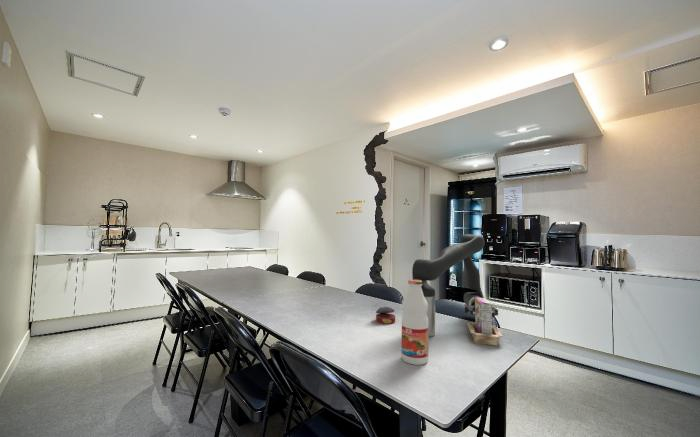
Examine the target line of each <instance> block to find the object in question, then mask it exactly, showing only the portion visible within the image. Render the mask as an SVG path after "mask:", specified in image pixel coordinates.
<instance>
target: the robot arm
mask: <svg viewBox="0 0 700 437" xmlns="http://www.w3.org/2000/svg"><path fill="white" fill-rule="evenodd" d="M485 244H486V242H485V238H484V237H483V236H482V235H480V234H471V233H470V234H468V233H467V234H466V233H465V234H463V235H461V237H460V243H455V244H451V245H448V246H447V247H445V248H444V249H442V250H441V252H440V254H439V257H438V258H436V259H421V258H420V259H419V258H418V259H416V260H414V262H413V264H412V269H411V271H412V276H411V277H412V280H421V281H422V286H421V288H422V292H423V295H424V297H425V299H426V301H427V303H428V311H427V317H428V324H429V327H428V338H430V337H433V336H435V335H436V290H435V288H433V287H432V286H430V284H429V283H428V282H429V281H430V282H431V281H434V280H437V279H438V278H439V277H440V276H442V275H443V274H444V273H445V272H446V271H448V270H450V268H452V267H454V266H455V265H457V264H459V263H460V262H462V261H463V264H464V268H465V281H466V283H465V284H466V288H467V289H470V290H474V291H476V292H474V291H473V292H469V291H468V292H465V293H464V295H463V301H464V305H463V306H464V308H463V309H464V313H469V314H470V315H471V316H474V315H475V298H485V296H484V293H483V291H482V288H481V276H480V271H479V269H478V267H477V266H476V264H475V262H474V261H473V259H472V255H474V254H477V253H480V252H482V250H483V248H484V247H485ZM492 313H493V318H494V317H497V316H499V309H497V307H496V306H492Z"/></svg>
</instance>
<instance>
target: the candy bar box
mask: <svg viewBox="0 0 700 437" xmlns="http://www.w3.org/2000/svg"><path fill="white" fill-rule="evenodd" d="M492 308H493V303H492V302H491V301H489V300H488V299H487V298H486V297H484V298H475V314H474V315H475V317H474V318H475V321H474V322H475V325H476V333H482V334H491V335H493V325H494V322H493V320H494V317H493V313H492Z"/></svg>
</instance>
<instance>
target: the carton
mask: <svg viewBox="0 0 700 437" xmlns="http://www.w3.org/2000/svg"><path fill="white" fill-rule="evenodd" d="M467 326H468V330H469V333H470V334H471V336H472V339H473V342H474V343H475V344H483V345H490V346H497V347H498V346H499V338H503V335H502V333H501V331H500V330H499V328H498V327H497V326H496V324H495V325H494V324H493V335H491V334H482V333H476V325H475V321H474V322H473V321H470V322H467Z"/></svg>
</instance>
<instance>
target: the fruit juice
mask: <svg viewBox="0 0 700 437" xmlns="http://www.w3.org/2000/svg"><path fill="white" fill-rule="evenodd" d="M421 286H422V281H421V280H413V279H408V289H407V292H406V295H405V297H404V299H403V300H402V304H401V306H402V311H403V312H402V313H403V314H402V317H401V349H400V350H401V352H400V353H401V354H400V355H401V359H402V360H403V361H404V362H405V363H407V364H410V365H412V366H415V365H416V366H423V365H425V364H427V363H428V362H429V337H428V327H429V324H428V317H427V311H428V303H427V301H426V299H425V297H424V295H423V292H422V288H421Z"/></svg>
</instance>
